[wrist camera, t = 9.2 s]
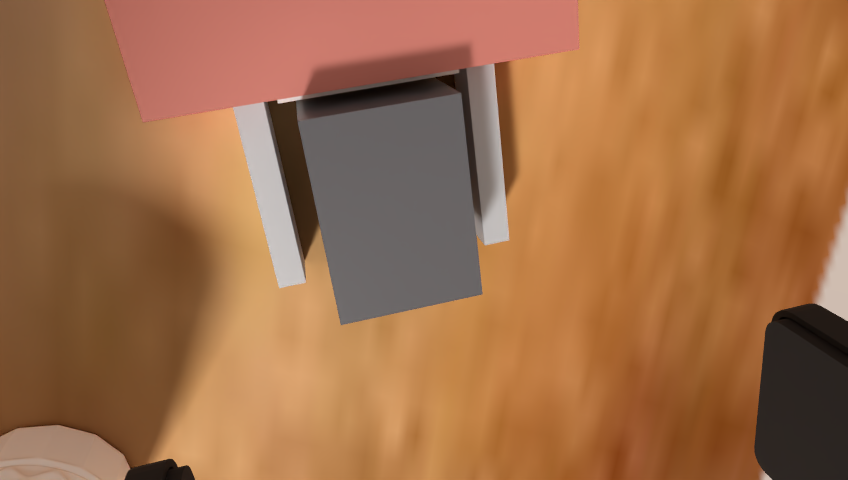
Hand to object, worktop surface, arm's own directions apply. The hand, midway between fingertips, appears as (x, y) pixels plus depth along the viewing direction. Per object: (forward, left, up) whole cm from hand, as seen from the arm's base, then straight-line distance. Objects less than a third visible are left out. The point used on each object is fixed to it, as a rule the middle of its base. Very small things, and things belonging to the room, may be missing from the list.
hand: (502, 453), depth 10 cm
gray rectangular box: (0, 0, -16) cm, 16 cm away
